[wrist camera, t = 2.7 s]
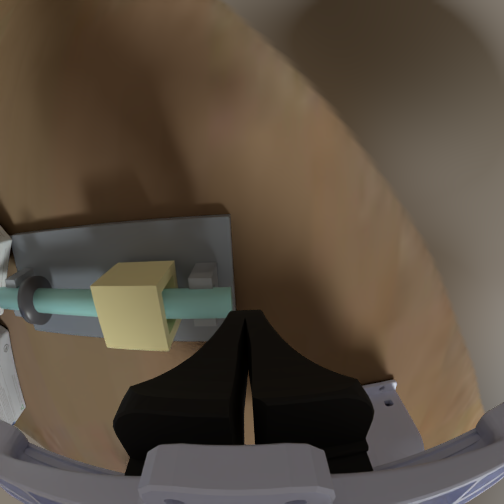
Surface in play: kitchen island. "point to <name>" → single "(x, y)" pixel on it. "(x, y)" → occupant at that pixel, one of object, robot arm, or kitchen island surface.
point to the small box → (4, 257)
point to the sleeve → (136, 305)
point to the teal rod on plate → (116, 251)
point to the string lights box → (9, 382)
